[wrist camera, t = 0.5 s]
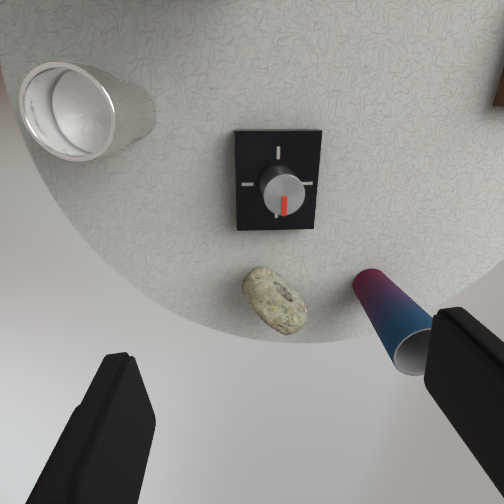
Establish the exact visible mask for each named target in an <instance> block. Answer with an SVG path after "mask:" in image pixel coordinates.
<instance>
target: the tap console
mask: <svg viewBox="0 0 504 504" xmlns="http://www.w3.org/2000/svg"><path fill="white" fill-rule="evenodd" d="M234 134H235V179H236V224H237V231H247V230H289V229H314V219H315V208H316V197H317V185H318V174H319V163H320V151H321V140H322V130H318V129H235V130H234ZM275 165H281V166H285V167H287V168H288V169H290V170H291V171H292V173H293V174H294V175H295V176H296V177H297V178H298V179H299V180H300V181H301V182H302V184H303V186H304V189H305V198H304V201H303V203H302V205H301V207H300V208H299V209H298V210H297V211H295V212H294V213H292V214H289V215H287V216H281V215H277V214H275V213H273V212H271V211H270V210H269V209H268V208H267V206H266V204H265V202H264V199H263V197H262V194H261V191H260V188H259V181H260V177H261V175H262V174H263V172H264V171H265V170H266V169H268V168H269V167H272V166H275Z"/></svg>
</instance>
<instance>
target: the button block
mask: <svg viewBox="0 0 504 504" xmlns="http://www.w3.org/2000/svg"><path fill="white" fill-rule="evenodd" d="M493 106H504V70H503V73H502V76H501V80H500V83H499V87H498V90H497V93H496V97H495V100H494V104H493Z"/></svg>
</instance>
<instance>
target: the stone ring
mask: <svg viewBox="0 0 504 504" xmlns="http://www.w3.org/2000/svg"><path fill="white" fill-rule="evenodd" d="M242 288H243V294H244V295H245V296H246V298H247V300H248V302H249V303H250V304H252V306H253V308H254V310H255V312H256V313H257V314H258V315H259V316H260V317H261V319H262V320H263V321H264V322H265V323H266V324H267V325H269V326H270V327H271V328H273V329H275V330H276V331H278V332H280V333H281V334H283V335H291V334H294V333H295V332H297V331H298V330H300V329H301V328H302V327H303V326H304V325H305V324H306V321H307V308H306V305H305V303H304V301H303V300H302V298H301V297H300V295H299V294H298V293H297V292H295V291H294V290H293V289H292V287H290V286H289V285H288V283H287V281H286V280H285V279H284V278H282V277H281V276H280V275H279V274H277V273H274V271H272V270H270V269H265V268H263V267H257V268H255V269H253V270H252V271H251V272H250V273H249V274H247V276H246V277H245V278H244V280H243V284H242Z"/></svg>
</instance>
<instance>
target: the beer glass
mask: <svg viewBox="0 0 504 504" xmlns="http://www.w3.org/2000/svg"><path fill="white" fill-rule="evenodd" d="M19 107H20V113H21V116H22V119H23V122H24V124H25V126H26V128H27V130H28V131H29V133H30V134H31V136H32V137H33V138H34V139H35V140H36V142H37V143H38V144H39V145H40V146H42V147H43V148H44V149H45V150H47V151H48V152H50V153H51V154H53V155H55V156H57V157H59V158H62V159H65V160H69V161H79V162H80V161H88V160H92V159H97V158H102V157H106V156H109V155H112V154H114V153H116V152H118V151H120V150H122V149H124V148H125V147H126V146H127V145H128V144H129V143H130V142H131V141H132V140H134V139H139V138H142V137H144V136H146V135H147V134H148V133H149V132H150V131H151V129H152V128H153V126H154V123H155V118H156V111H155V106H154V103H153V101H152V99H151V97H150V95H149V94H148V93H147V92H146V91H145V90H144V89H143V88H142V87H141V86H139V85H137V84H135V83H133V82H130V81H121V80H119V79H118V78H117V77H115V76H114V75H112V74H110V73H109V72H107V71H104V70H102V69H99V68H96V67H93V66H89V65H84V64H77V63H66V62H58V61H55V62H47V63H44V64H41V65H39V66H37V67H35V68H34V69H32V70H31V71H30V72H29V73H28V74H27V76H26V77H25V79H24V80H23V83H22V85H21V88H20V93H19Z"/></svg>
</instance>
